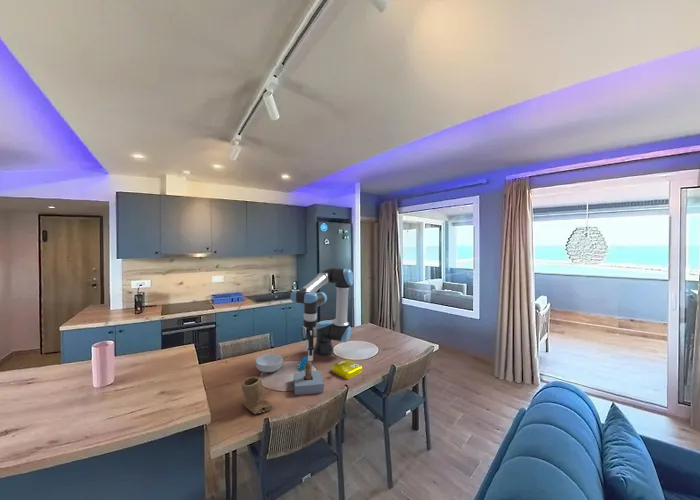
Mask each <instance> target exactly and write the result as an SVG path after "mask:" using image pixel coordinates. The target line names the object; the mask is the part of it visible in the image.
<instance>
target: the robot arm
mask: <svg viewBox="0 0 700 500" xmlns="http://www.w3.org/2000/svg"><path fill="white" fill-rule="evenodd" d="M354 280H355V278H354V273H353V271H352V270H351V269H349V268H339V267H338V268H337V267H329V268H326V269H324V270H321V271H320V272H319V273H317V274H316V276H315V277H314V278H313V279H312V280H310V281H309V282H308V283H307V284H305V285H304V286H303V287H302V288H301V289H299V290H298V289H297V290H292V291H291V293H290V301H291V302H292V303H295V304H303V313H302V316H303V327H304V328H305V329H306V330H305V332H306V333H305V339H306V340H305V351H307V357H308V362H309V361H310V362H313V361H314V354H315V355H318V356H330V355H332V354H333V353H334V346H333V345H334V344H333V342H332V341H334V342H335V341H336V342H340V343H347V342H348V341H349V340H350V338H351V336H352V330H353V327H351V326H350V322H348V312H349V311H348V310H349V309H348V308H349V307H348V306H349V305H348V304H349V290H350V288H351V286H352V285H354ZM327 284H333V285H334V288H335V289H336V301H335V303H336V305H335V307H336V308H335V321H334V322H333V321H332V320H330V319H329V320H327V319H326V320H320V321H319V322H317V319H318V308H319V307H320V306H323V305H324V304H325V303H326V302H327V301H328V296H327V294H326V293H325V292H323V291H319V289H320V288H322V287H323V286H326V285H327ZM317 291H319V292H317ZM314 328H316V333H315V334H316V339H315V344H314V331H315V330H314Z"/></svg>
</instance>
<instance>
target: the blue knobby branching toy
mask: <svg viewBox="0 0 700 500" xmlns="http://www.w3.org/2000/svg"><path fill="white" fill-rule="evenodd" d="M297 362H298V363H297V366H296V367H297V370H298V369H300V370H302V371H306V362H311V361H308V355H306V356H302V358H300V359H299V361H297ZM300 370H299V371H300Z"/></svg>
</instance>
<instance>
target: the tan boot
mask: <svg viewBox="0 0 700 500" xmlns="http://www.w3.org/2000/svg"><path fill="white" fill-rule="evenodd" d="M241 391H242V394H243V396H244V397H245V400H244V401H243V406H244V407H245V408H246V409H247V410H249V411H250V412H251V413H253V414H255V415H257V414H256V413H259V412H263V411H266V412H268V411H270V410H271V409H273V408H274V405H273V404H272V403H271V402H270V401H268V400H267V399H265V398H264V397H262V396H263V395H262V394H263V381H262V379H261V377H260V376H250V377H247V378H246V379H244V380H243V381H242V383H241Z"/></svg>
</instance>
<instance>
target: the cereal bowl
mask: <svg viewBox="0 0 700 500" xmlns="http://www.w3.org/2000/svg"><path fill="white" fill-rule="evenodd" d="M283 359H284V358H283V357H282V355H279V354H277V353H266V354H263V355H260V356H258V357H257V358H256V359H255V367H256V369H257V370H258V371H260V372H262V373H266V372H270V373H273V372H276V371H278V370H279V369H280V368H281V367H282V365H283Z"/></svg>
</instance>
